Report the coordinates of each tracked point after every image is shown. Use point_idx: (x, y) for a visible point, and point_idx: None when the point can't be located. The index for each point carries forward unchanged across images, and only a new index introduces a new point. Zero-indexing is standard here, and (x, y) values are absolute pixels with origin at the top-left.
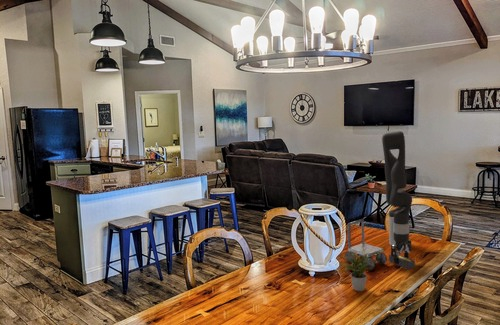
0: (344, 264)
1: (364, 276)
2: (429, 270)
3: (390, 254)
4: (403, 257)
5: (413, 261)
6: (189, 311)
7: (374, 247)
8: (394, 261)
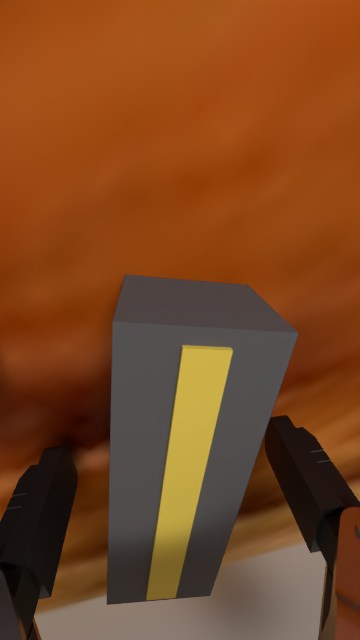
0: None
1: None
2: (234, 560)
3: (156, 326)
4: (208, 507)
5: (190, 591)
6: None
7: None
8: (16, 495)
